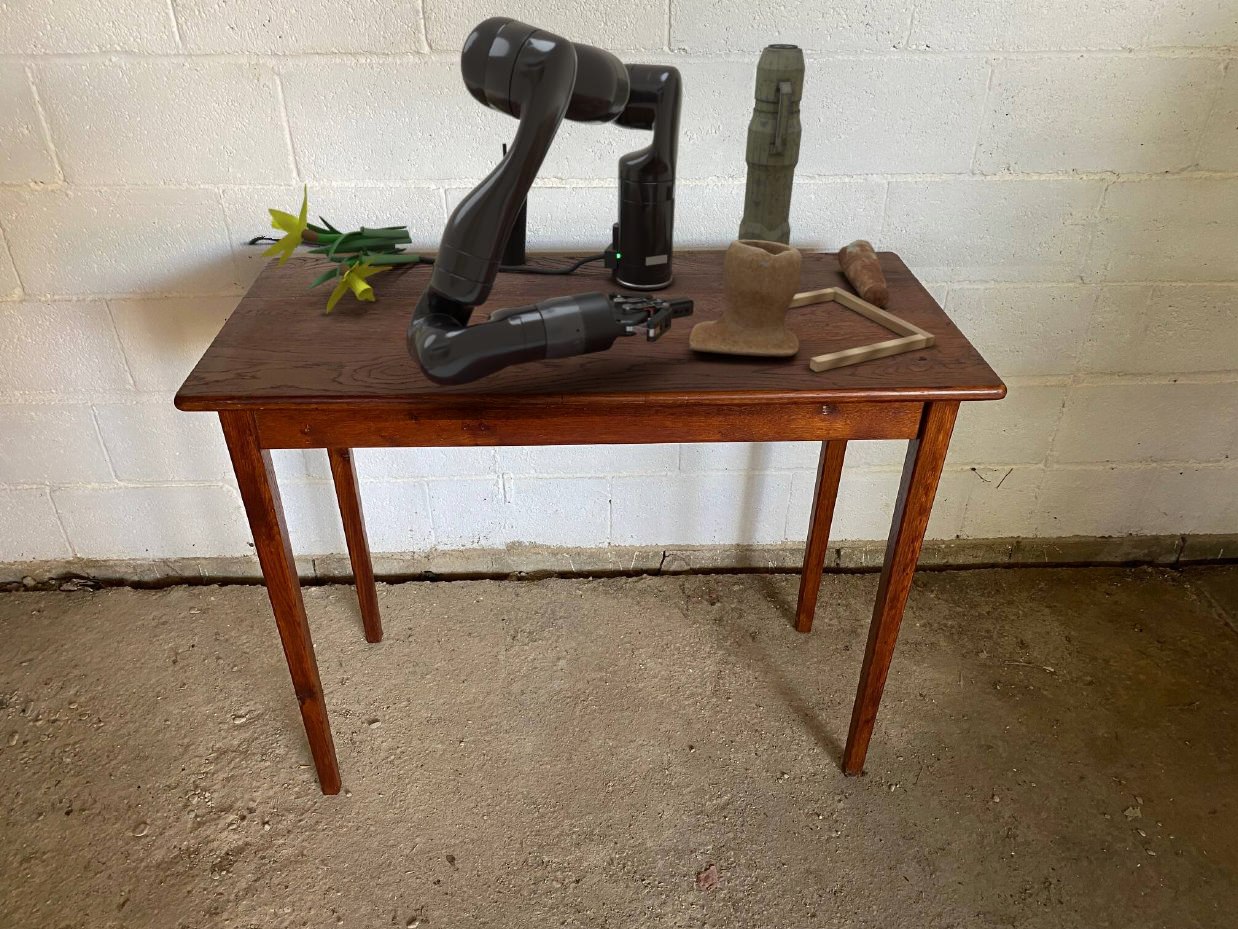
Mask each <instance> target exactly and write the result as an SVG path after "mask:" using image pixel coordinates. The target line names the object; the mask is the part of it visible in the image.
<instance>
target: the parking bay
mask: <svg viewBox="0 0 1238 929" xmlns="http://www.w3.org/2000/svg"><path fill="white" fill-rule="evenodd" d="M830 301H835V302H836V303H839V304H841V305H843V306H845V307H847V308H849V309H851V311H854V312H856V313H858V314H860V315H861V316H864V317H866V318H867V319H869V320H871V321H873V322H874V323H877V324H879V325H880V326H883V327H884V328H887V329H888V330H891V331H893V332H894V333H896V334H898V335H900V336H902V337H900V338H896V339H895V338H894V339H891V340H886V341H882V342H878V343H873V344H869V345H864V346H859V347H854V348H849V349H845V350H841V351H837V352H832V353H827V354H823V355H819V356H818V355H817V356H814V357H811V358H810V363H809V369H811V371H814V372H815V373H818V372H823V371H828V370H833V369H836V368H840V367H845V366H849V365H853V364H858V363H862V362H866V361H867V362H868V361H872V360H875V359H880V358H884V357H889V356H894V355H897V354H903V353H906V352H907V353H908V352H913V351H916V350H921V349H924V348H929V347H933V346H934V341H935V335H933V334H932V333H929V332H927V331H926V330H924V329H921V328H920V327H917V326H915V325H913V324H911V323H909V322H908V321H906V320H903V319H901V317H897V316H896V315H894V314H891V313H890V312H887V311H885V310H884V309H881V308H880V307H876V306H874V305H872V304H870V303H868V302H866V301H864V300H863V299H862V298H861V297H858V296H856V295H854V294H852V293H850V292H848V291H846V290H844V289H842V288H840V287H838V286H833V287H828V288H824V289H818V290H817V289H816V290H811V291H807V292H801V293H796V294H795V296H794V298H793V300H792V302H791V304H790V306H789V308H788V309H793V308H797V307H802V306H809V305H814V304H818V303H824V302H830Z"/></svg>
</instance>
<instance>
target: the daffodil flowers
mask: <svg viewBox="0 0 1238 929" xmlns="http://www.w3.org/2000/svg"><path fill="white" fill-rule="evenodd" d="M303 193H304V194H303V195H304V196H303V201H302V204H301V208H300V212H299V216H298V217H297V216H295V215H294V214H291V213H288V212H285V211H282V210H280V209H274V208H268V209H267V210H268V213H269V215H270V216H271V219H272V221H271V220H270V223H271V224H270V227H271V228H272V229H275V230H279V231H282V232H285V233H286V234H285V235H284V236H283V237H281V238H282V239H281V240H279V241H278V242H276V243H274V244H273V245H272V246H270V247H269V248H267V249H266V251H264V252H263V253H262V254H261V255H260V258H266V257H267V258H268V257H274V256H275V255H279V254H280V253H282V252H283V253H282V255H281V257H280V258H279V261H278V263H277V265H276V270H277V269H278V268H279V267H280V266H282V265H283V264H285V263H286V262H287V261H288V260H289V258H290V257H291V256H292V255H293V253H294V250H295V249H297V248H298V246H299V245H301V244H300V243H301V242H302V241H303V240H305V241H309V242H315V243H316V242H317V243H333V244H332V245H328V246H325V247H324V246H321V247H319V248H314V249H312V250H308V251H307V252H306V253H308V254H314V255H325V256H326V257H327V262H330V261H331V262H333V263H336V264H338V266H337V267H335V268H331V269H329V270H327V271H325V272H324V273H323V274H321V275H319V277H317V278H316V279H314V281H313V282H312V283H311V284H310V285H309V287H308V288H307V290H308V291H310V290H311V289H314V288H316V287H318V286H320V285H321V284H323V283H325V282H327V281H330V280H331V279H334V278H336V280H339V277H340V276H341V277H342V278H341V279H340V280H339V282H338V285H337V286H336V287H335V288H334V289H333V291H332V294H331V295H330V296H329V299H328V302H327V304H326V310H325V315H327V314H328V313H329V312H331V310H332V309H333V308H334V307H335V305H336V304H337V303H338V302H339V301H340V299H341V298H342V297H343V295H345V293H346V292H347V290H348V288H349V289H350V290H351V291H353V292H354V294H355V296H356V298H357V300H358V301H365V300H366V299H367V300H368V301H371V302H376V298H375V295H374V293H373V292H374V289H373V288H372V286H370V285H369V284H368V282H367V281H366V279H365V278H367V277H369V276H372V275H375V274H377V273H379V272H382V271H388V270H391V269H393V266H391V265H398V264H399V265H401V264H410V263H421V262H422V261H420V260H419V256H420V254H418V253H416V254H415V253H414V254H408V253H404V252H405V251H406V250H407V247H404V248H400V247H396V245H408V244H413V239H412V237H411V236H410V232H409V230H408V229H406V228H408V225H396V226H387V227H386V226H385V227H378V228H371V227H365V226H363V225H362V226H360V227H359V230H355V231H348V232H346V233H343V232H341V231H340V230H337V229H336V228H335V227H334V226H333V225H331V224H330V223H329V222H328V221H327V220H326V219H325V218H323V217H322V216H321V215H318V217H319V219H320V221H321V222H322V223H323V225H324V226H325V227H326V228H327V229H326V228H324V227H320V226H317V225H315V224H312V223H310V222H308V216H307V215H308V212H309V208H310V206H309V205H308V193H307V183H304V188H303ZM370 251H375V252H370ZM352 253H353V255H350V256H349V255H348V256H345V255H343V256H335V255H341V254H352ZM354 253H355V254H354ZM356 253H358V254H356ZM391 253H402V254H401V255H391ZM407 254H408V255H407ZM389 265H390V266H389Z"/></svg>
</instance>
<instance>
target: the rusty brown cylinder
mask: <svg viewBox="0 0 1238 929" xmlns="http://www.w3.org/2000/svg"><path fill="white" fill-rule="evenodd" d="M837 260H838V264H839V266H840V268H841V270H842V272H843V273H844V276H845V277H846V278H847V280H848V281H849V283H850V285H851V286H852V287H853V288H854V289H855V291H856V293H857V294H858V295H859V298H860V299H862V300H864V301H866V302H868V303H870V304H872V305H874V306H876V307H878V308H880V307H882V306H884V305H885V304H887V303H888V302H889V299H890V294H889V290H888V287H887V286H888V285H887V282H886V279H885V276H884V273H883V269H882V266H881V263H880V260H879V258H878V254H877V252H876V250H875V249H874V247H873V245H872V244H871V243H870V241H868V240H865V239H856V240H855V241H853V242H851V243H850V244H847V245H845V246H842V247H841V248H840V249H839V250H838V253H837Z"/></svg>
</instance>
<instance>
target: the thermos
mask: <svg viewBox="0 0 1238 929" xmlns="http://www.w3.org/2000/svg"><path fill="white" fill-rule="evenodd" d="M805 73H806V63H805V58H804V52H803V48H801V47H799V45H797V44H791V43H789V44H788V43H773V44H771V43H770V44H768V46H764V47H763V48H762V52H761V54H760V57H759V60H758V63H757V65H756V76H755V87H754V98H753V99H754V107H753V109H752V110H753V111H752V116H751V119H750V121H749V124H748V126H747V135H746V148H745V163H746V166H747V167H746V168H747V170H746V178H745V179H746V180H745V181H746V182H745V192H744V204H743V214H742V215H743V217H742V218H741V221H740V222H739V227H738V235H737V236H738V237H737V240H760V241H770V242H777V243H781V244H785V245H789V246H790V238H791V224H790V220H789V219H790V210H791V203H792V202H791V201H792V194H793V184H794V176H795V169H796V167H797V165H798V164H799V157H800V150H801V142H802V131H803V128H802V123H801V109H800V106H801V105H800V104H801V101H802V99H803V90H804V84H805V83H804V80H805Z"/></svg>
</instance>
